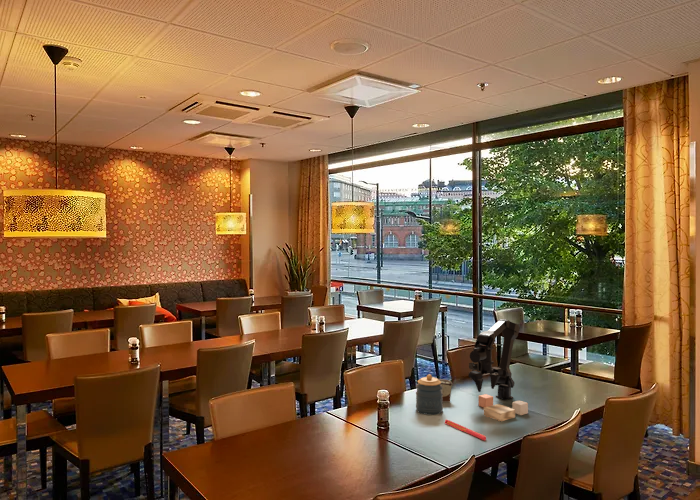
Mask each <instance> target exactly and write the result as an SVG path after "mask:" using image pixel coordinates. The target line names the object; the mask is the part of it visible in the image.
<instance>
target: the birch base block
mask: <svg viewBox="0 0 700 500" xmlns="http://www.w3.org/2000/svg"><path fill="white" fill-rule="evenodd" d="M484 415H485V416H484ZM483 416H484V417H486V418H489V417H490V419H492V418H493V420H495V419H496V420H495V421H497V420H498V422H500V421H501V422H504V421H507V420H510V419H515V418H516V413H515V409H512V407H509V406H506V405H503V404H500V403H497V404H493V405H492V406H488V407H483Z"/></svg>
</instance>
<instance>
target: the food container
mask: <svg viewBox="0 0 700 500" xmlns="http://www.w3.org/2000/svg"><path fill="white" fill-rule="evenodd" d="M437 379H438V380H440V381H441V385H442V386H443V389H442V393H443V403H445V402H448V403H449V402H451V395H452V387H453V386H454V385H453V382H452V381H451V380H450V379H445V378H444V379H443V378H437Z"/></svg>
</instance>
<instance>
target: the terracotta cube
mask: <svg viewBox="0 0 700 500" xmlns="http://www.w3.org/2000/svg"><path fill="white" fill-rule="evenodd" d="M492 405H494V396H493V395H489V394H487V393H485V394H481V395H478V406H479V407H482V408H484V407H488V406H492Z"/></svg>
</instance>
